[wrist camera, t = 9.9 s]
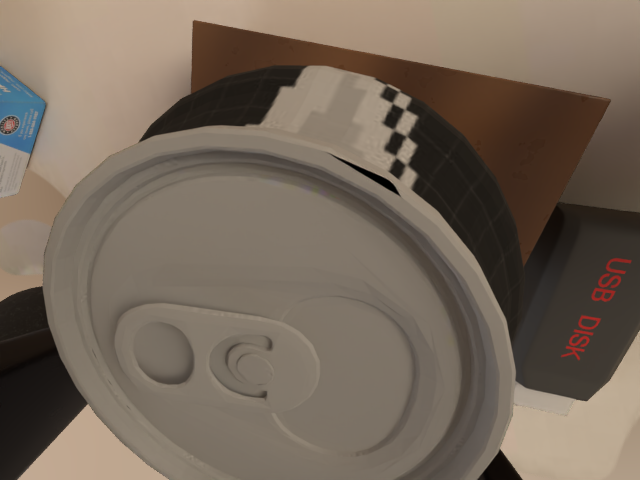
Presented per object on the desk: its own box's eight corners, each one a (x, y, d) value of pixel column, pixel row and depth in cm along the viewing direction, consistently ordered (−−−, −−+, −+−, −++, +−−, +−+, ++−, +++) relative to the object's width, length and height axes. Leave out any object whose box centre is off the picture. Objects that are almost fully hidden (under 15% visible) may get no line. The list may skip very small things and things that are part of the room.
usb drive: (662, 215, 15) (715, 234, 13) (567, 392, 20) (592, 432, 17) (547, 200, 16) (576, 215, 14) (481, 374, 21) (494, 409, 18)
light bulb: (106, 294, 26) (-52, 391, 17) (104, 234, 23) (-80, 309, 14) (166, 317, 25) (39, 431, 16) (171, 258, 23) (25, 352, 14)
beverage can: (306, 93, 13) (-128, -28, 2) (446, 113, 12) (900, 87, 1) (292, 220, 15) (45, 478, 4) (410, 245, 14) (466, 636, 4)
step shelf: (557, 103, 15) (644, 96, 10) (477, 278, 18) (508, 337, 13) (235, 40, 17) (168, 7, 12) (223, 210, 20) (169, 240, 15)
